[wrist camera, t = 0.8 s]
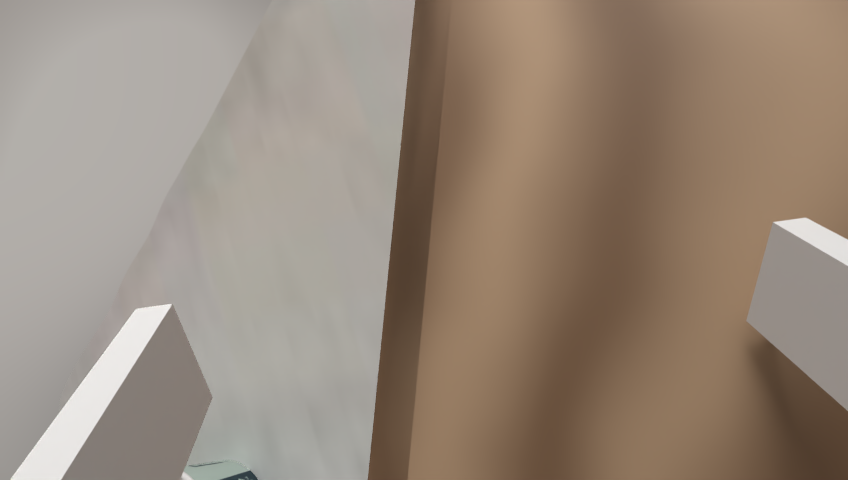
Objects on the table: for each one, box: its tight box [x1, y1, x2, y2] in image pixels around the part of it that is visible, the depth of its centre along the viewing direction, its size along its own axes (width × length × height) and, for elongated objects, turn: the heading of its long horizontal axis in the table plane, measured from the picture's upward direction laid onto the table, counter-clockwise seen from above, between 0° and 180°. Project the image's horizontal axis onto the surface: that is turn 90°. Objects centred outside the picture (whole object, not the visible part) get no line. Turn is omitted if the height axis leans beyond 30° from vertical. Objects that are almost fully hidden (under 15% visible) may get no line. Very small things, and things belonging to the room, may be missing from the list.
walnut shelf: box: [368, 0, 848, 480], centre depth 22 cm, size 14×22×18 cm, turn 173°
